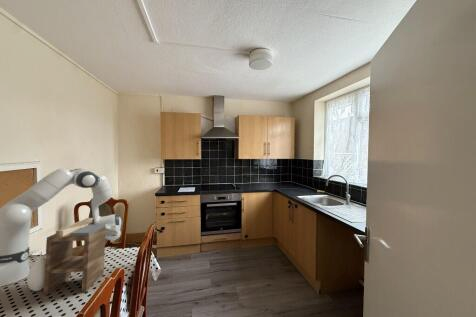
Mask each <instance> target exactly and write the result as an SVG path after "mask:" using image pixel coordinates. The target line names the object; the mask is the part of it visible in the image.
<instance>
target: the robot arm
mask: <svg viewBox="0 0 476 317" xmlns="http://www.w3.org/2000/svg"><path fill="white" fill-rule="evenodd" d="M72 184H73V185H74V186H77V187H79V188H82V189H89V188H90V189H91V192H92V198H91V199H90V200H89V212H90V218H93V222H92V223H90V225H91V224H104V227H106V233H105V240H108V241H116V240H117V239H119V238H121V235H122V231H121V228H122V225H123V224H122V223H123V221H122V216H120V215H119V214H117V213H114V214H109V215H104V216H100V209H99V206H101V205H103V204H105V203H106V202H108V201H109V200H110V199H111V198H112V196H113V189H112V185H111V182H110V181H109V179H108V178H107V176H106V175H104V174H96V173H94V172H92V171H90V170H88V169H83V168H75V169H71V170H69V169H67V168H58V169H56V170H53V172H50V173H48V174H47V175H45V176H44V177H43V178H41V179H40V180H39V181H37V182H36V183H35V184H33V185H32V186H30V187H29V188H28V189H27V190H25V191H24V192H22V193H20V194H18V195H17V196H16V197H14V198H13V199H11V200H10V201H9V202H6V203H5V204H4V205H2V207H0V288H1V287H4V286H7V285H8V286H9V285H11V284H14V283H17V282H19V281H20V282H21V281H22V280H23V279H26V278H27V277H28V274H29V271H30V269H31V267H30V262H29V255H30V247H29V243H30V242H29V240H30V232H31V231H30V230H31V224H32V223H31V222H32V218H33V216H32V214H33V212H34V211H35V210H37V209H38V208H40V207H41V206H43V205H44V204H46V203H48V202H49V201H50V200H52V199H54V197H56V195H58V194H59V193H60V192H61V191H62V190H64V189H65V188H66V187H68V186H70V185H72Z"/></svg>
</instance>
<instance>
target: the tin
mask: <svg viewBox="0 0 476 317" xmlns="http://www.w3.org/2000/svg"><path fill="white" fill-rule="evenodd" d="M72 256H84V244H83V245H79V246H75V247H73V250H72Z"/></svg>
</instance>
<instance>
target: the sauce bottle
mask: <svg viewBox="0 0 476 317" xmlns="http://www.w3.org/2000/svg"><path fill="white" fill-rule="evenodd" d="M45 258H46V255H43V253H42V251H40V256H38V257H37V258H36V260H35V261H34V263H32V265H31V267H30V271H29V274H28V276H27V277H26V278H27V279H26V285H27V287H28V289H30V290H31V291H34V292H39V291H41V290H42V289H43V290H44V274H45Z"/></svg>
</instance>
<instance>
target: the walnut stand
mask: <svg viewBox="0 0 476 317" xmlns="http://www.w3.org/2000/svg"><path fill="white" fill-rule="evenodd" d="M81 228H82V227H81ZM79 229H80V228H79ZM77 230H78V229H77ZM75 231H76V230H75ZM73 232H74V231H73ZM71 233H72V232H71ZM105 233H106V227H103V228H102V229H100V230H98V231H96V232H95V233H93V234H91V235H89V236H70V233H69V234H66V235H64V236H56V233H54V234H51V235H49V236H47V237H46V244H45V274H44V288H43V292H42V293H43V294H42V295H43V296H47V295H49V294H51V293H52V292H53V291H54V290H55V289H57V288H58V287H59V286H61V285H62V284H63V283H65V282H66V281H67V280H68V279H70V278H71V277H72V273H79V272H81V273H82V277H81V280H82V281H81V293H87V292H88V291H89V290H90V287H91V286H92V285H93V284H94V283H95V282H96V281H97V282H98V281H99V280H100V279H101V278H102V275H103V276H104V271H105V270H104V268H105V267H104V266H105V250H106V247H105V246H106V239H105ZM78 241H79V242H80V241H81V242H83V245H84V256H72V250H73V248H74V247H73V245H74V242H78ZM99 278H100V279H99ZM97 282H96V283H97ZM96 283H95V284H96ZM95 284H94V285H95ZM94 285H93V286H94ZM93 286H92V287H93ZM92 287H91V288H92Z"/></svg>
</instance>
